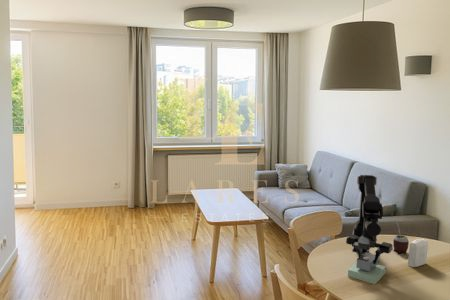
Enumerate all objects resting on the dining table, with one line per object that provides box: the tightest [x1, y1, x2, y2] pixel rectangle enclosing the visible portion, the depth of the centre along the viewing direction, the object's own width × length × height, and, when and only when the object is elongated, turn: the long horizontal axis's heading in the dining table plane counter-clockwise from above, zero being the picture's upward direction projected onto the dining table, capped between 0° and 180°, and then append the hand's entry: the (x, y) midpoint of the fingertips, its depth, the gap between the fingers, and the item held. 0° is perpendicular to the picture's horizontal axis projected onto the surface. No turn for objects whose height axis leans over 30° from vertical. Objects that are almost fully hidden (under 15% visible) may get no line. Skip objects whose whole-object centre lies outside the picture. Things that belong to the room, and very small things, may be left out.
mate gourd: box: [392, 219, 410, 255], centre depth 220 cm, size 8×8×15 cm
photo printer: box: [407, 238, 429, 268], centre depth 205 cm, size 10×4×12 cm, turn 123°
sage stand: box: [347, 261, 387, 285], centre depth 194 cm, size 12×14×3 cm
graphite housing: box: [356, 251, 380, 272], centre depth 193 cm, size 10×6×5 cm, turn 141°
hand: (367, 262), depth 193 cm, fingers closed on graphite housing, 6 cm apart
